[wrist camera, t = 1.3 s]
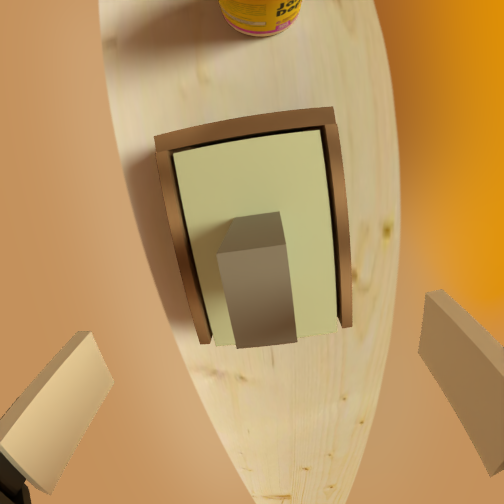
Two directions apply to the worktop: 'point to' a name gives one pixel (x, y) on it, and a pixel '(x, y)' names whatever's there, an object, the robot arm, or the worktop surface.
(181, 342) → the worktop surface
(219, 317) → the lid
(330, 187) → the box
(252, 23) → the supplement bottle
